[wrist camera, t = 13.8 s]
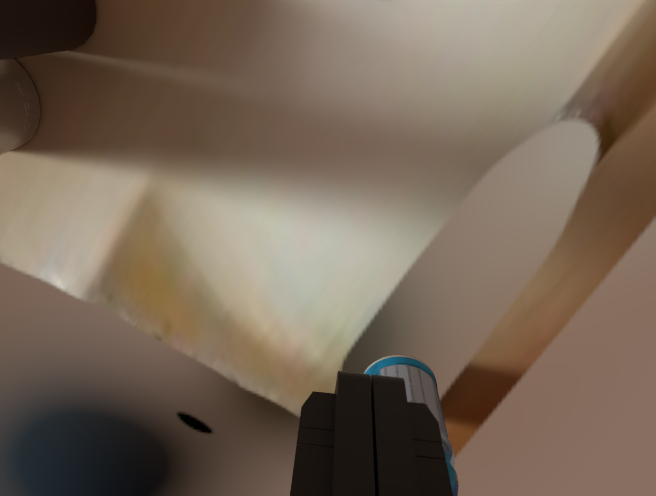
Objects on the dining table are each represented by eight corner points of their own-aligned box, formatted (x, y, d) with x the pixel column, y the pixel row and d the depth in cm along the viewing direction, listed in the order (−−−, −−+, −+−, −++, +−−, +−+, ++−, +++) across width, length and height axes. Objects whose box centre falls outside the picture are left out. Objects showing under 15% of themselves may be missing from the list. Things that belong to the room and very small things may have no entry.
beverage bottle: (423, 341, 53) (459, 514, 35) (446, 400, 56) (490, 586, 38) (347, 363, 55) (344, 539, 36) (374, 419, 58) (383, 607, 40)
